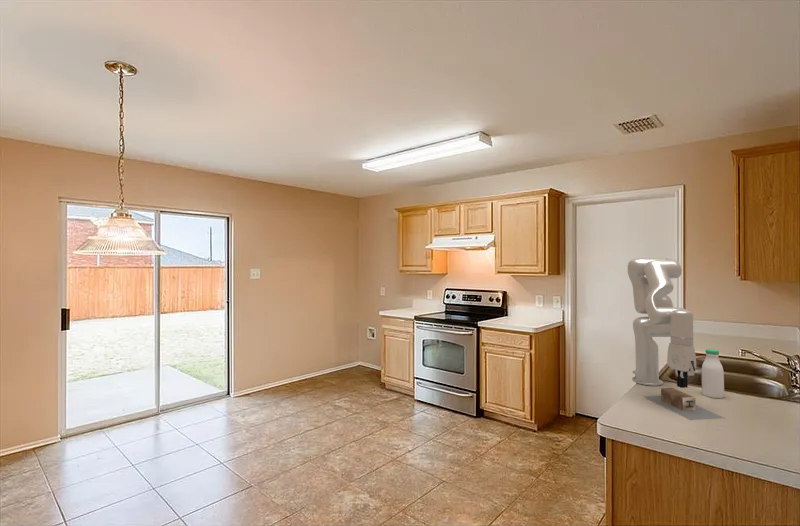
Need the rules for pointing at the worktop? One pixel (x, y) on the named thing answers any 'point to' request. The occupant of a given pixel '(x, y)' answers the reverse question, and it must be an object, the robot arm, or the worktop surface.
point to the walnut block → (678, 399)
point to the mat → (691, 414)
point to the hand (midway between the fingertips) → (682, 387)
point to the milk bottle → (712, 375)
